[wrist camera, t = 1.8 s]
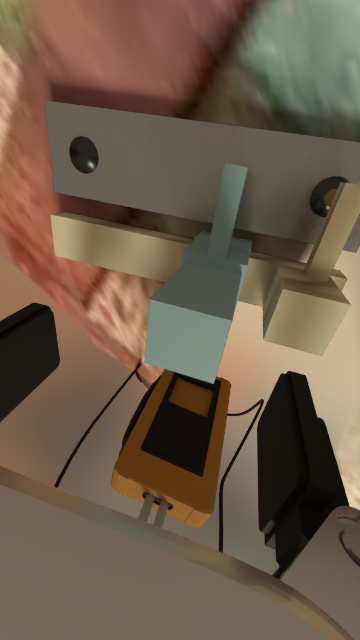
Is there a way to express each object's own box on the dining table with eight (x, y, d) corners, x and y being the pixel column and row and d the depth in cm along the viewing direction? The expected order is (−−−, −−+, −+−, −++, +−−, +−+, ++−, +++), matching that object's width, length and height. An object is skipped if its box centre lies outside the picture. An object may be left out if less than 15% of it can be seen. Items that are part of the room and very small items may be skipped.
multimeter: (128, 400, 34) (-5, 620, 17) (140, 343, 28) (-35, 582, 12) (232, 444, 32) (201, 735, 15) (266, 393, 27) (275, 752, 10)
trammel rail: (379, 191, 16) (445, 197, 11) (320, 311, 21) (342, 361, 15) (59, 139, 20) (-23, 123, 14) (69, 250, 25) (10, 271, 19)
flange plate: (399, 151, 15) (409, 148, 14) (350, 248, 18) (356, 252, 17) (56, 104, 19) (43, 100, 18) (63, 191, 22) (53, 192, 21)
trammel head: (271, 173, 17) (285, 164, 7) (234, 302, 22) (213, 398, 13) (214, 164, 18) (157, 144, 8) (191, 292, 23) (139, 375, 13)
